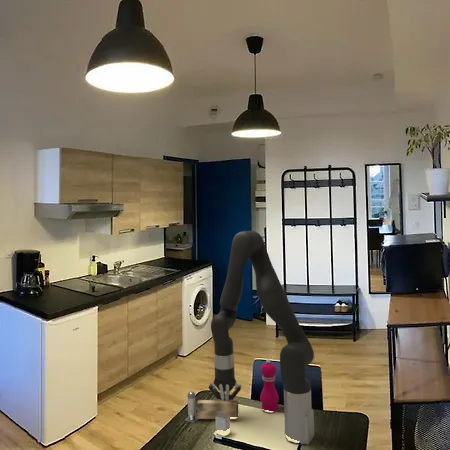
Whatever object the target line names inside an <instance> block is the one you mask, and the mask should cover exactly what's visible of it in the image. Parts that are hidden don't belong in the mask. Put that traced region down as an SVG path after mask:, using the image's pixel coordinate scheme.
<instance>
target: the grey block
mask: <svg viewBox="0 0 450 450" xmlns="http://www.w3.org/2000/svg"><path fill="white" fill-rule="evenodd" d="M214 420H215V432H216V431H217V430H223V431H226V430H227V429H229V428H230V429H231V419H230V415H228V414H224V413H219V414H218V415H217V416H215V419H214Z"/></svg>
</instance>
